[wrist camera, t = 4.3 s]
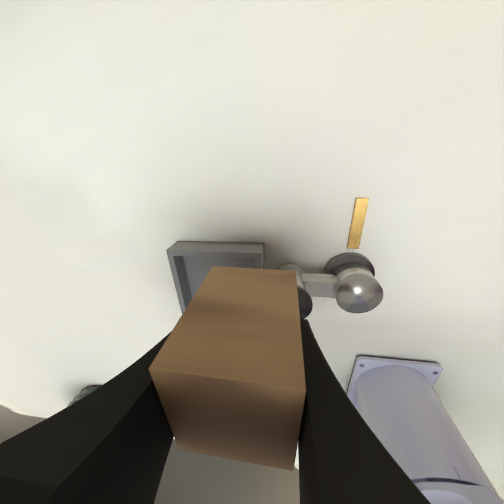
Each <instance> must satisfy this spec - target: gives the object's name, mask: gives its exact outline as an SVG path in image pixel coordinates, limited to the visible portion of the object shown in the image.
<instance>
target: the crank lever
mask: <svg viewBox="0 0 504 504" xmlns="http://www.w3.org/2000/svg"><path fill="white" fill-rule="evenodd" d="M278 270H291V271H296V280H297V291H298V303H299V314H300V319H304V318H306V317H307V316H308V315H309V314H310V313H311V311H312V306H313V305H312V299H311V296H314V297H332V298H336V301H337V303H338V305H339V306H340V307H341V308H342V309H343V310H345V311H347V312H351V313H364V312H367V311H370V310H372V309H374V308H375V307H377V306H378V305H379V303H380V302H381V300H382V298H383V290H382V288H381V286H380V285H379V283H378V282H377V280H376V279H375V277H374V276H373V275H372V273H371V272H370V270H369V269H368V268H367V267H366V266H365V265H364V264H362V263H359V262H346V263H343V264H341V265H339V266H337V267H336V268H335V269H334V270H333V271H332V273H331V274H312V273H303V271H302V270H301V268H300V267H298V266H297V265H294V264H285V265H282V266H281V267H279V268H278Z"/></svg>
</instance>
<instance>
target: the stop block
mask: <svg viewBox="0 0 504 504" xmlns="http://www.w3.org/2000/svg"><path fill="white" fill-rule="evenodd" d="M149 372H150V374H151V377H152V380H153V382H154V385H155V388H156V390H157V393H158V395H159V398H160V401H161V403H162V406H163V409H164V411H165V414H166V416H167V419H168V422H169V424H170V427H171V430H172V432H173V435H174V437H175V440H176V443H177V445H178V448H179V449H181V450H186V451H191V452H196V453H201V454H207V455H212V456H217V457H222V458H228V459H234V460H238V461H244V462H249V463H254V464H259V465H265V466H270V467H275V468H281V469H286V470H292V471H293V469H294V463H295V457H296V450H297V444H298V438H299V432H300V425H301V419H302V413H303V406H304V400H305V394H306V384H305V372H304V361H303V349H302V338H301V326H300V314H299V303H298V291H297V280H296V271H291V270H273V269H255V268H237V267H219V266H213V267H212V268H211V270H210V271H209V273H208V275H207V276H206V278H205V279H204V281H203V283H202V284H201V286H200V287H199V289H198V290H197V292H196V294H195V295H194V297H193V298H192V300H191V302H190V303H189V305H188V306H187V308H186V310H185V311H184V313H183V314H182V316H181V318H180V319H179V321H178V322H177V324H176V326H175V327H174V329H173V330H172V332H171V334H170V335H169V337H168V338H167V340H166V342H165V343H164V345H163V346H162V348H161V350H160V351H159V353H158V354H157V356H156V358H155V359H154V361H153V362H152V364H151V366H150V367H149Z"/></svg>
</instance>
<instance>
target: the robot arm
mask: <svg viewBox="0 0 504 504" xmlns="http://www.w3.org/2000/svg"><path fill="white" fill-rule="evenodd" d="M300 326H301V338H302V349H303V361H304V372H305V384H306V394H305V400H304V406H303V413H302V419H301V425H300V432H299V438H298V449H299V482H300V483H299V484H300V504H504V500H503V499H502V498H501V497H500V496H499V495H498V493H497V491H496V490H495V488H494V487H493V485H492V483H491V482H490V480H489V479H488V477H487V475H486V474H485V472H484V471H483V469H482V467H481V466H480V464H479V462H478V461H477V459H476V458H475V456H474V454H473V453H472V451H471V450H470V448H469V446H468V445H467V443H466V441H465V440H464V438H463V437H462V435H461V433H460V432H459V430H458V429H457V427H456V425H455V424H454V422H453V421H452V419H451V417H450V416H449V414H448V412H447V411H446V409H445V408H444V406H443V404H442V403H441V401H440V400H439V398H438V396H437V395H436V393H435V391H434V390H433V388H432V387H433V386H434V384H435V382H436V380H437V379H438V377H439V375H440V373H441V372H442V370H443V368H442V367H441V365H440V364H437V363H429V362H418V361H407V360H397V359H386V358H376V357H365V356H360V357H358V358H357V359H356V363H355V366H354V370H353V374H352V377H351V381H350V384H349V388H348V392H347V394H346V393H345V391H344V390H343V388H342V387H341V385H340V383H339V382H338V380H337V378H336V377H335V375H334V373H333V372H332V370H331V368H330V366H329V365H328V363H327V361H326V359H325V357H324V355H323V353H322V351H321V350H320V348H319V346H318V343H317V341H316V339H315V337H314V335H313V332H312V330H311V327H310V325H309V322H308V320H307V319H300ZM171 332H172V331H171ZM171 332H170V333H169V334H168V335H167V336H166V337H165V338H163V339H162V340H161V341H160V342H159V343H158V344H157V345H155V346H154V347H153V348H152V349H151V350H150V351H148V352H147V353H146V354H145V355H144V356H142V357H141V358H140V359H139V360H137V361H136V362H135V363H133V364H132V365H131V366H129V367H128V368H127V369H125V370H124V371H123V372H121V373H120V374H118V375H117V376H116V377H114V378H113V379H111V380H110V381H108V382H107V383H105V384H104V385H102V386H101V387H99V388H98V389H96V390H94V391H93V392H91V393H90V394H88V395H87V396H85V397H84V398H82V399H80V400H79V401H77V402H75V403H74V404H72V405H70V406H69V407H67V408H65V409H63V410H62V411H60V412H58V413H56V414H55V415H53V416H51V417H49V418H48V419H46V420H44V421H42V422H40V423H38V424H36V425H34V426H33V427H31V428H29V429H27V430H25V431H23V432H21V433H19V434H18V435H16V436H14V437H12V438H10V439H8V440H6V441H4V442H2V443H1V444H0V504H154V500H155V497H156V493H157V490H158V487H159V483H160V479H161V476H162V473H163V469H164V466H165V463H166V460H167V456H168V453H169V450H170V447H171V443H172V440H173V437H174V435H173V432H172V430H171V427H170V424H169V422H168V419H167V416H166V414H165V411H164V409H163V406H162V403H161V401H160V398H159V395H158V393H157V390H156V388H155V385H154V382H153V380H152V377H151V374H150V372H149V367H150V366H151V364H152V362H153V361H154V359H155V358H156V356H157V354H158V353H159V351H160V350H161V348H162V346H163V345H164V343H165V342H166V340H167V338H168V337H169V335H170V334H171Z"/></svg>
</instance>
